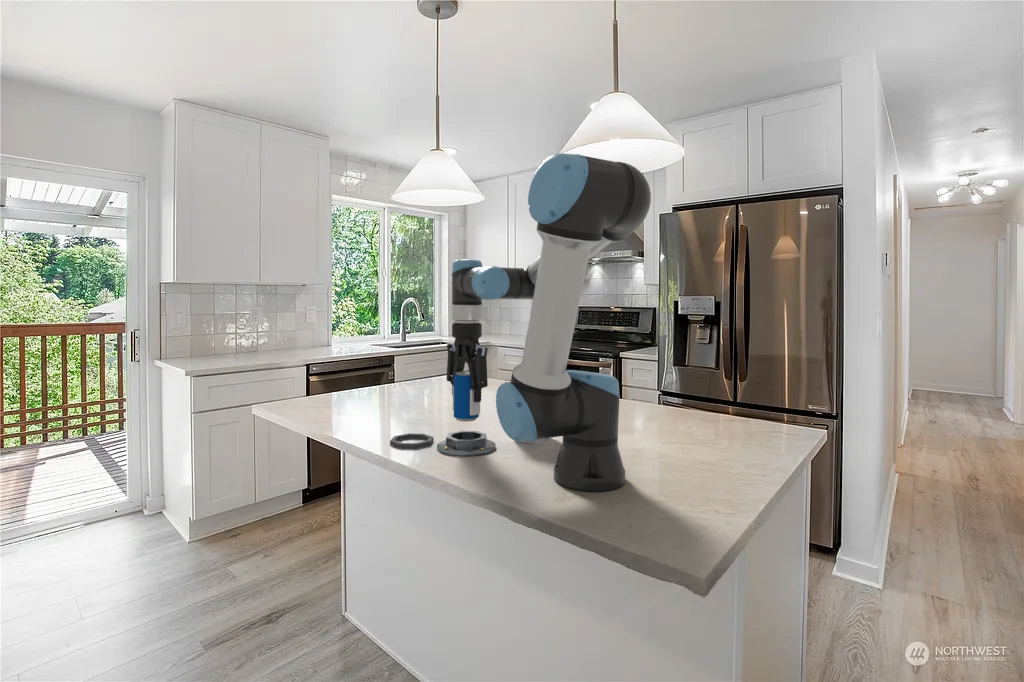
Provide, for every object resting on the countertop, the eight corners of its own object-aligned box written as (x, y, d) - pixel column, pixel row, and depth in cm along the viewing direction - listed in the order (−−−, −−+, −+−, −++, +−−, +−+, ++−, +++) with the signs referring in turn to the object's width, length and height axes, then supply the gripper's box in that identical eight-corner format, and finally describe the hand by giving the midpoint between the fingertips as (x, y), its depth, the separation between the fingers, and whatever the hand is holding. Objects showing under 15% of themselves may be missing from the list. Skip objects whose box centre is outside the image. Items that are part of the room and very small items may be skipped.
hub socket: (507, 448, 137) (507, 436, 137) (461, 460, 127) (461, 447, 126) (471, 437, 148) (471, 425, 147) (425, 447, 138) (425, 434, 137)
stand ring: (440, 443, 141) (440, 439, 141) (405, 451, 134) (405, 446, 134) (418, 435, 149) (418, 431, 149) (384, 442, 141) (384, 438, 141)
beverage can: (475, 423, 133) (475, 375, 132) (450, 421, 134) (450, 374, 133) (481, 417, 139) (482, 371, 138) (457, 415, 141) (458, 370, 140)
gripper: (503, 323, 130) (502, 416, 132) (455, 319, 144) (455, 403, 146) (479, 324, 125) (479, 421, 127) (432, 320, 139) (432, 407, 141)
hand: (466, 411), depth 137 cm, fingers closed on beverage can, 6 cm apart
